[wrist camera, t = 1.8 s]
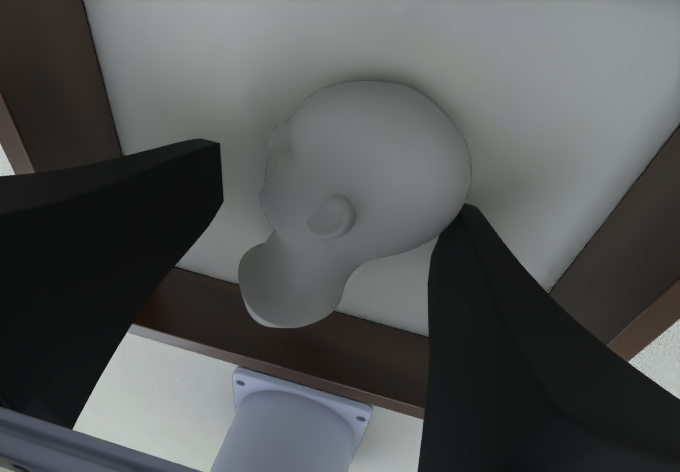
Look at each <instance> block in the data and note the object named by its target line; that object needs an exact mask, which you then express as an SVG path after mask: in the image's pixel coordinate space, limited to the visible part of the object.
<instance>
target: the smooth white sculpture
mask: <svg viewBox="0 0 680 472" xmlns="http://www.w3.org/2000/svg"><path fill="white" fill-rule="evenodd" d="M267 146H268V152H269V157H270V158H269V160H268V162H267V164H266V178H265V182H264V187H263V188H262V190H261V194H260V201H261V204H262V207H263V209H264V211H265V213H266V215H267V217H268V219H269V221H270V223H271V224H272V226H273V227H274V229H275V230H274V232H273V233H272V234H271V236H270V237H269V238H268V240H267V241H266V242H265V243H262V244H259V245H256V246H254V247H253V248H251V249H250V250H248V251H247V252H246V253H245V254H244V256H243V257H242V259H241V261H240V264H239V269H238V279H239V286H240V290H241V293H242V296H243V299H244V302H245V305H246V308H247V310H248V312H249V314H250V315H251V316H252V318H253V319H254V320H256V321H257V322H258V323H260V324H262V325H264V326H267V327H275V328H297V327H302V326H306V325H309V324H312V323H314V322H317V321H319V320H321V319H323V318H325V317H326V316H328V315H329V314H331V313H332V312H333V311H334V310H335V308H336V307H337V306H338V304H339V302H340V300H341V297H342V294H343V290H344V286H345V283H346V281H347V279H348V278H349V276H350V275H351V274H352V272H353V271H354V270H355V269H356V268H357V267H359V266H360V265H361V264H362V263H364V262H366V261H368V260H370V259H373V258H378V257H385V256H390V255H395V254H399V253H403V252H406V251H409V250H412V249H414V248H417V247H419V246H421V245H423V244H425V243H427V242H429V241H430V240H432V239H433V238H435V237H436V236H438V235H439V234H440V233H441V232H443V231H444V230H445V229H446V228H447V227H448V226H449V225H450V224H451V222H452V221H453V220H454V219H455V217H456V216H457V215H458V213H459V211H460V210H461V208H462V206H463V204H464V202H465V200H466V198H467V195H468V192H469V188H470V183H471V174H472V167H471V159H470V155H469V151H468V147H467V145H466V143H465V140H464V138H463V137H462V135H461V133H460V131H459V130H458V128H457V127H456V126H455V124H454V123H453V122H452V121H451V119H450V118H449V117H448V116H447V115H446V114H445V113H444V112H443V111H442V110H441V109H440V108H439V107H438V106H437V105H436V104H434V103H433V102H432V101H431V100H429V99H428V98H427V97H425V96H424V95H423V94H421V93H420V92H418V91H416V90H414V89H412V88H410V87H407V86H404V85H401V84H397V83H390V82H378V81H354V82H344V83H339V84H335V85H331V86H328V87H326V88H323V89H321V90H319V91H317V92H315V93H313V94H311V95H310V96H308V97H307V98H306V99H305V100H303V101H302V102H301V103H300V105H299V106H298V107H297V109H296V111H295V112H294V115H293V117H291V118H289V119H288V120H286V121H285V122H283V123H282V124H280V125H279V126H277V127H275V128H274V129H273V130H272V131H271V132H270V134H269V136H268V139H267Z"/></svg>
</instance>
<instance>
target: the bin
mask: <svg viewBox="0 0 680 472" xmlns="http://www.w3.org/2000/svg"><path fill="white" fill-rule="evenodd" d="M0 143H1V146H2V148H3V150H4V152H5V154H6V156H7V158H8V160H9V162H10V164H11V166H12V168H13V170H14V173H15V175H20V174H30V173H38V172H46V171H52V170H59V169H65V168H71V167H77V166H82V165H87V164H92V163H97V162H101V161H105V160H110V159H114V158H119V157H122V155H121V151H120V147H119V144H118V140H117V136H116V132H115V128H114V124H113V120H112V116H111V113H110V109H109V105H108V101H107V97H106V93H105V89H104V85H103V81H102V78H101V74H100V70H99V66H98V62H97V58H96V54H95V50H94V47H93V43H92V39H91V35H90V31H89V27H88V23H87V19H86V15H85V12H84V8H83V4H82V0H0ZM549 295H550V296H551V297H552V298H553V299H554V300H555V301H556V302H557V303H558V304H559V305H560V306H561V307H562V308H563V309H564V310H565V311H566V312H568V313H569V314H570V315H571V316H572V317H573V318H574V319H575V320H576V321H578V322H579V323H580V324H581V325H582V326H583V327H584V328H586V329H587V330H588V331H589V332H590V333H592V334H593V335H594V336H595V337H596V338H598V339H599V340H600V341H601V342H602V343H604V344H605V345H606V346H607V347H608V348H610V349H611V350H612V351H614V352H615V353H616V354H617V355H619V356H620V357H621V358H623V359H624V360H625V361H627V362H628V361H630V360H631V359H632V358H633V357H634V356H636V355H637V354H638V353H639V352H640V351H642V350H643V349H644V348H645V347H646V346H648V345H649V344H650V343H651V342H652V341H654V340H655V339H656V338H657V337H658V336H660V335H661V334H662V333H663V332H665V331H666V330H667V329H668V328H669V327H671V326H672V325H673V324H674V323H675V322H677V321H678V320H679V319H680V127H679V128H678V129H677V130H676V132H675V133H674V134H673V136H672V137H671V138H670V139H669V141H668V142H667V143H666V145H665V146H664V147H663V148H662V150H661V151H660V152H659V154H658V155H657V156H656V157H655V159H654V160H653V161H652V163H651V164H650V165H649V166H648V168H647V169H646V170H645V172H644V173H643V174H642V175H641V177H640V178H639V179H638V181H637V182H636V183H635V184H634V186H633V187H632V188H631V190H630V191H629V192H628V193H627V195H626V196H625V197H624V199H623V200H622V201H621V202H620V204H619V205H618V206H617V208H616V209H615V210H614V211H613V213H612V214H611V215H610V217H609V218H608V219H607V220H606V222H605V223H604V224H603V226H602V227H601V228H600V229H599V231H598V232H597V233H596V234H595V236H594V237H593V238H592V240H591V241H590V242H589V243H588V245H587V246H586V247H585V249H584V250H583V251H582V252H581V254H580V255H579V256H578V258H577V259H576V260H575V261H574V263H573V264H572V265H571V267H570V268H569V269H568V270H567V272H566V273H565V274H564V276H563V277H562V278H561V279H560V281H559V282H558V283H557V285H556V286H555V287H554V288H553V290H552V291H551V292H550V294H549ZM127 332H128V333H131V334H135V335H138V336H141V337H145V338H148V339H152V340H155V341H158V342H162V343H165V344H169V345H172V346H175V347H179V348H182V349H185V350H189V351H192V352H196V353H199V354H202V355H206V356H209V357H213V358H216V359H219V360H223V361H226V362H230V363H233V364H236V365H240V366H243V367H247V368H250V369H253V370H257V371H260V372H263V373H267V374H270V375H274V376H277V377H280V378H284V379H287V380H291V381H294V382H297V383H301V384H304V385H308V386H311V387H314V388H318V389H321V390H324V391H328V392H331V393H335V394H338V395H341V396H345V397H348V398H352V399H355V400H358V401H362V402H365V403H369V404H372V405H375V406H379V407H382V408H385V409H389V410H392V411H396V412H399V413H402V414H406V415H409V416H413V417H416V418H419V419H423V420H424V412H425V403H426V392H427V381H428V369H429V338H426V337H423V336H419V335H416V334H412V333H408V332H405V331H401V330H398V329H394V328H390V327H387V326H383V325H379V324H376V323H372V322H369V321H365V320H361V319H358V318H354V317H351V316H347V315H343V314H340V313H336V312H332V313H331V314H329V315H328V316H326V317H325V318H323V319H321V320H319V321H317V322H314V323H312V324H309V325H306V326H302V327H297V328H275V327H267V326H264V325H262V324H260V323H258V322H257V321H256V320H254V319H253V318H252V316H251V315H250V314H249V312H248V310H247V308H246V305H245V302H244V299H243V296H242V293H241V290H240V286H239V285H235V284H231V283H228V282H224V281H221V280H217V279H213V278H210V277H206V276H203V275H199V274H195V273H192V272H188V271H185V270H181V269H177V268H174V267H173V269H172V270H171V271H170V272H169V273H168V274H167V275H166V277H165V278H164V279H163V280H162V282H161V283H160V284H159V285H158V287H157V288H156V289H155V291H154V292H153V294H152V295H151V297H150V298H149V299H148V301H147V302H146V304H145V305H144V307H143V308H142V310H141V311H140V313H139V314H138V316H137V317H136V319H135V320H134V322H133V323H132V325H131V327H130V328H129V330H128V331H127Z"/></svg>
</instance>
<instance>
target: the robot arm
mask: <svg viewBox="0 0 680 472" xmlns="http://www.w3.org/2000/svg"><path fill="white" fill-rule="evenodd" d="M223 202H224V198H223V183H222V168H221V153H220V143H217V142H213V141H208V140H204V139H193V140H187V141H183V142H178V143H174V144H170V145H166V146H162V147H158V148H155V149H151V150H147V151H143V152H139V153H135V154H131V155H127V156H123V157H119V158H114V159H110V160H105V161H101V162H97V163H92V164H87V165H82V166H77V167H71V168H65V169H59V170H52V171H46V172H38V173H30V174H20V175H10V176H0V467H3V468H6V469H9V470H12V471H15V472H202V471H199V470H195V469H192V468H189V467H186V466H183V465H180V464H177V463H174V462H171V461H167V460H164V459H161V458H158V457H155V456H152V455H149V454H146V453H143V452H139V451H136V450H133V449H130V448H127V447H124V446H121V445H118V444H115V443H112V442H108V441H105V440H102V439H99V438H96V437H93V436H90V435H87V434H84V433H80V432H77V431H74V430H72V429H73V427H74V425H75V423H76V421H77V419H78V417H79V415H80V413H81V411H82V410H83V408H84V406H85V404H86V402H87V400H88V398H89V397H90V395H91V393H92V391H93V389H94V387H95V385H96V383H97V382H98V380H99V378H100V376H101V375H102V373H103V371H104V370H105V368H106V366H107V364H108V363H109V361H110V359H111V358H112V356H113V354H114V352H115V351H116V349H117V347H118V346H119V344H120V342H121V341H122V339H123V338H124V336H125V335H126V333H127V331H128V330H129V328H130V327H131V325H132V323H133V322H134V320H135V319H136V317H137V316H138V314H139V313H140V311H141V310H142V308H143V307H144V305H145V304H146V302H147V301H148V299H149V298H150V297H151V295H152V294H153V292H154V291H155V289H156V288H157V287H158V285H159V284H160V283H161V282H162V280H163V279H164V278H165V277H166V275H167V274H168V273H169V272H170V271H171V270H172V269H173V267H174V266H175V265H176V264H177V263H178V262H179V260H180V259H181V258H182V257H183V256H184V255H185V253H186V252H187V251H188V250H189V249H190V248H191V247H192V245H193V244H194V243H195V242H196V241H197V239H198V238H199V237H200V236H201V235H202V234H203V232H204V231H205V230H206V229H207V227H208V226H209V225H210V223H211V222H212V220H213V219H214V217H215V215H216V214H217V212H218V210H219V209H220V207H221V205H222V203H223ZM428 327H429V369H428V381H427V392H426V403H425V412H424V422H423V431H422V440H421V448H420V456H419V465H418V472H680V399H678V398H677V397H675V396H674V395H672V394H671V393H669V392H668V391H666V390H665V389H664V388H662V387H661V386H659V385H658V384H657V383H655V382H654V381H653V380H651V379H650V378H648V377H647V376H646V375H644V374H643V373H641V372H640V371H639V370H637V369H636V368H635V367H633V366H632V365H631V364H629V363H628V362H627V361H625V360H624V359H623V358H621V357H620V356H619V355H617V354H616V353H615V352H614V351H612V350H611V349H610V348H608V347H607V346H606V345H605V344H604V343H602V342H601V341H600V340H599V339H598V338H596V337H595V336H594V335H593V334H592V333H590V332H589V331H588V330H587V329H586V328H584V327H583V326H582V325H581V324H580V323H579V322H578V321H576V320H575V319H574V318H573V317H572V316H571V315H570V314H569V313H568V312H566V311H565V310H564V309H563V308H562V307H561V306H560V305H559V304H558V303H557V302H556V301H555V300H554V299H553V298H552V297H551V296H550V295H549V294H548V293H547V292H546V291H545V290H544V289H543V288H542V287H541V286H540V285H539V284H538V283H537V282H536V281H535V279H534V278H533V277H532V276H531V275H530V274H529V273H528V271H527V270H526V269H525V268H524V267H523V266H522V265H521V263H520V262H519V261H518V260H517V259H516V257H515V256H514V255H513V254H512V252H511V251H510V250H509V249H508V247H507V246H506V245H505V244H504V242H503V241H502V240H501V238H500V237H499V236H498V234H497V233H496V232H495V230H494V229H493V228H492V226H491V225H490V223H489V222H488V221H487V219H486V218H485V217H484V215H483V214H482V213H481V211H480V210H479V209H478V208H477V207H476V206H472V205H468V204H463V206H462V208H461V210H460V211H459V213H458V215H457V216H456V217H455V219H454V220H453V221H452V222H451V224H450V225H449V226H448V227H447V228H446V229H445V230H444V231H443V232H441V233H440V236H439V238H438V241H437V243H436V245H435V248H434V250H433V252H432V255H431V261H430V269H429V278H428ZM232 377H233V390H234V403H235V417H234V419H233V421H232V424H231V426H230V428H229V430H228V432H227V435H226V437H225V439H224V441H223V444H222V446H221V448H220V450H219V452H218V455H217V457H216V459H215V461H214V463H213V466H212V468H211V470H210V472H348V468H349V465H350V463H351V460H352V458H353V456H354V454H355V452H356V449H357V447H358V445H359V443H360V441H361V439H362V436H363V434H364V432H365V430H366V428H367V425H368V423H369V421H370V419H371V417H372V408H371V407H370V406H369V405H367V404H364V403H360V402H357V401H354V400H350V399H347V398H344V397H340V396H337V395H333V394H330V393H327V392H323V391H320V390H316V389H313V388H310V387H306V386H303V385H300V384H296V383H293V382H289V381H286V380H283V379H279V378H276V377H272V376H269V375H266V374H262V373H259V372H255V371H252V370H249V369H245V368H241V367H239V368H236V369H235V370H234V372H233V375H232Z"/></svg>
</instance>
